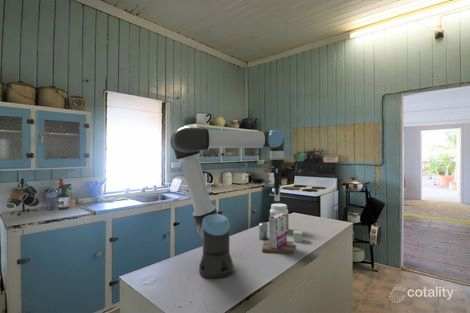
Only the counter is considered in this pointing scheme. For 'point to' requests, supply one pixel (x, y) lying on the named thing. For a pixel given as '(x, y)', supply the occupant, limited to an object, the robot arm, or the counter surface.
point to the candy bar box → (277, 230)
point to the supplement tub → (280, 209)
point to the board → (285, 248)
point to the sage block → (297, 236)
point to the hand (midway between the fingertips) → (277, 198)
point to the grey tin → (263, 231)
